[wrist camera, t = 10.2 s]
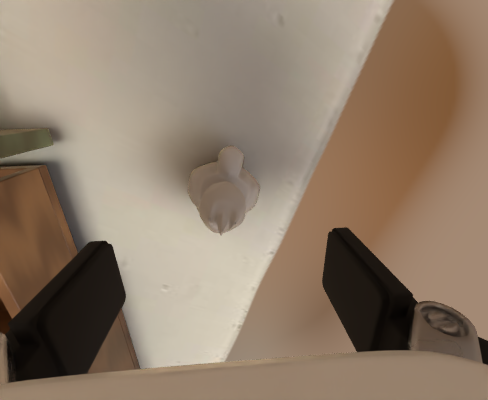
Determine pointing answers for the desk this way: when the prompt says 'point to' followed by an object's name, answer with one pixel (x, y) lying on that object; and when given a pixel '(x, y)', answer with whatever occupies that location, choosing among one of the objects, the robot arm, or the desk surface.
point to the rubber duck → (223, 191)
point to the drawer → (28, 225)
